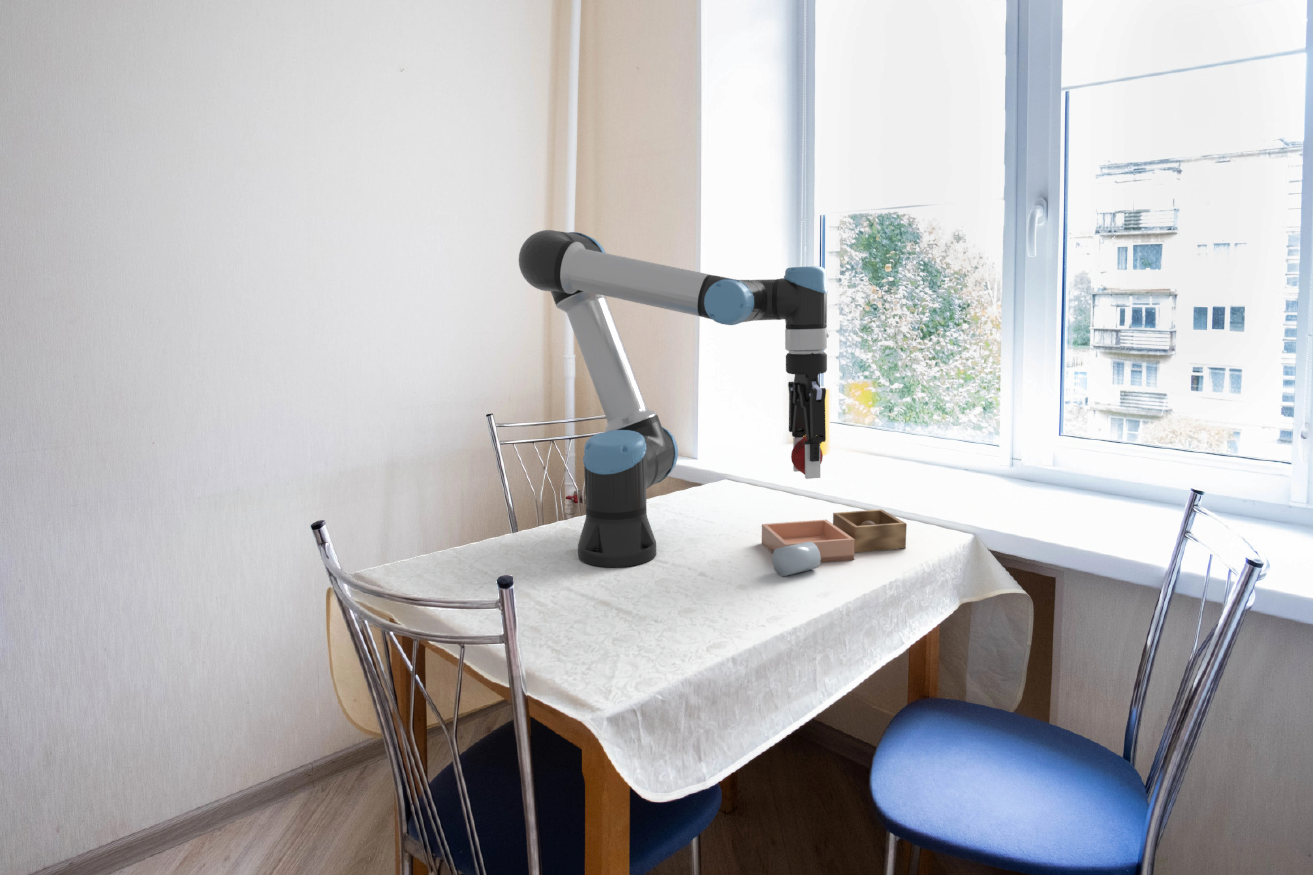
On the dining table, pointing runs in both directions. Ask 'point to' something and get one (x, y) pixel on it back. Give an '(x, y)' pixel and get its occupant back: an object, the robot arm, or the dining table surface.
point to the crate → (872, 530)
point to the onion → (801, 455)
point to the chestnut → (867, 523)
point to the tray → (810, 538)
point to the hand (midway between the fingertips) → (806, 474)
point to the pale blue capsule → (796, 558)
